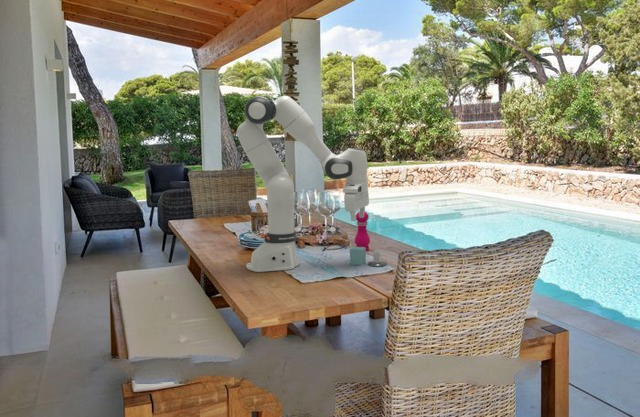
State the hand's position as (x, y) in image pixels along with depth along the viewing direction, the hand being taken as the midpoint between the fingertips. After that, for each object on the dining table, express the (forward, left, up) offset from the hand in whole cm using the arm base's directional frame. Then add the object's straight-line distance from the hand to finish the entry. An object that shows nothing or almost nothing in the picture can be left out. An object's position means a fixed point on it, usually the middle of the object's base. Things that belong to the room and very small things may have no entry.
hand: (357, 219), depth 249 cm
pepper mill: (+15, +22, -19) cm, 33 cm away
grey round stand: (+6, -6, -19) cm, 21 cm away
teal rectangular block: (0, 0, -19) cm, 19 cm away
